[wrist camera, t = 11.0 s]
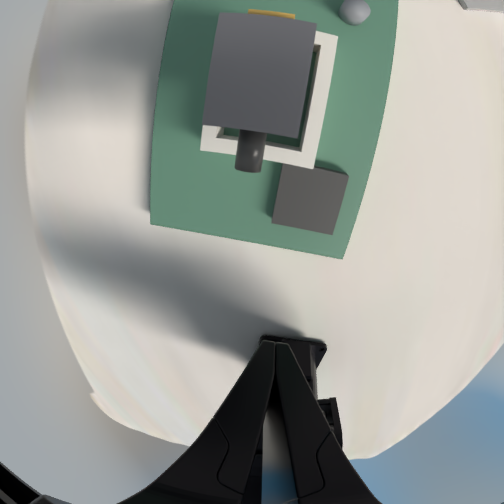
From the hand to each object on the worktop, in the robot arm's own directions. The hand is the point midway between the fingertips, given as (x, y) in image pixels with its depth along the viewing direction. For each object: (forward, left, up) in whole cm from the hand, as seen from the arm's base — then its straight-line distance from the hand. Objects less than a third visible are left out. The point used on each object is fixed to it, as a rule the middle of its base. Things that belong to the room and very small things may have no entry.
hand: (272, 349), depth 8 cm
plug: (+8, +2, -11) cm, 14 cm away
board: (+8, +2, -12) cm, 14 cm away
